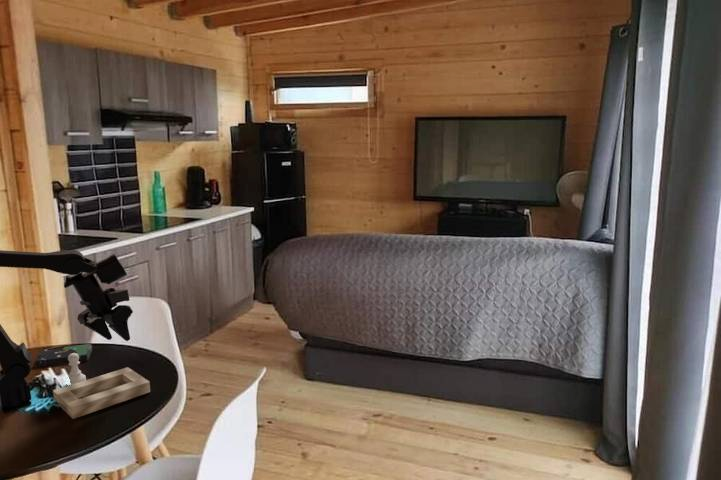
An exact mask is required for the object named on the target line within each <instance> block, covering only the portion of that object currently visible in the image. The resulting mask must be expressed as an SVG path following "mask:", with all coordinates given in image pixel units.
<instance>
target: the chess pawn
mask: <svg viewBox="0 0 721 480" xmlns="http://www.w3.org/2000/svg"><path fill="white" fill-rule="evenodd" d="M78 360H79V355H78V354H77V353H72V354H70V355H69V356H68V361H69V362H70V363H68V366H69V367H70V366H71V368H70V369H71V370H70V372H69V374H68V377H69V379H70V383H71V385H72V384H75V383H78V382H82V381H85V380H87V377H86V375H85V374H84V373H82V370H80V369H79V366H78V365H79V364H80V363H81V362H79V361H78Z"/></svg>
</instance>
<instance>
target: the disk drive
mask: <svg viewBox="0 0 721 480" xmlns="http://www.w3.org/2000/svg"><path fill="white" fill-rule="evenodd" d="M92 351H93V344H92V343H83V344H75V345H66V346H57V347H51V348H50V347H48V348H42V349H40V352H39V353H38V354H37V357H36V358H35V359H34V366H35V368H43V367H51V366H57V365H65V364H66V365H67V364H69V363H70V362H69V361H68V356H69V355H70V354H72V353H77V354H78V355H79V360H78V361H79V362H80V363H83V362H88V361H89V359H90V356H91V355H92Z"/></svg>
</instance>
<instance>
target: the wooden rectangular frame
mask: <svg viewBox="0 0 721 480" xmlns="http://www.w3.org/2000/svg"><path fill="white" fill-rule="evenodd" d="M150 383H151V382H150V380H148V379H146V378H145V377H143V376H142V375H141V374H139V373H137V372H136V371H134V370H133V369H131V368H130V367H128V366H127V367H124V368H121V369H120V368H119V369H118V370H115V371H111V372H108V373H105V374H104V373H103V374H102V375H99V376H95V377H92V378H88V379H86V380H85V381H82V382H78V383H75V384H72V385H69V386H67V385H65V386H63V387H59V388H56V389H53V390H52V394H53V395H52V396H53V401H54V400H55V401H56V402H57V403H58V404H59V405H60V406H59V405H58V404H57V403H56V402H55V401H54V402H55V403H56V404H57V405H58V406H59V407H60V408H61V409H62V410H63V411H64V412H65V413H66V414H67V416H69V417H70V418H71V419H72V420H74V419H76V418H79V417H83V416H85V415H88V414H91V413H95V412H97V411H100V410H103V409H106V408H109V407H111V406H114V405H117V404H120V403H122V402H126V401H128V400H129V401H130V400H131V399H134V398H137V397H139V396H144V395H146V394H148V393H151V384H150ZM81 397H82V398H81ZM78 398H79V399H78Z"/></svg>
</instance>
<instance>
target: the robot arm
mask: <svg viewBox="0 0 721 480" xmlns="http://www.w3.org/2000/svg"><path fill="white" fill-rule="evenodd" d="M0 268H16V269H17V268H19V269H20V268H21V269H41V270H43V269H44V270H48V271H52V272H55V273H58V274H63V275H66V276H65V281H64V282H63V287H64V288H65V289H66V288H69V287H71V286H73V288H74V289H75V291H76V293H77V294H78V297H79V298H80V301H79V304H80V306H85V308H86V309H84V310H83V311H81V312H80V313H78V315H77V318H76V319H77V320H78V322H79V323H80V325H83V326H84V327H86V328H87V329H89V330H91V331H93V332H95V333H97V334H98V335H100V336H101V337H102V338H105V340H108V341H110V340H112V339H113V336H112V334H111V331H110V329H111V330H112V331H113V332H115V333H116V334H117V335H118V336H119V337H121V339H123V340H124V341H126V342H128V341H129V340H131V335H130V330H129V324H128V322H129V321H128V320H129V318H130V317H131V316H132V314H133V313H134V311H133V309H132V307H131V306H130V305H126V304H124V305H122V304H121V305H120V304H119V305H118V303H122V302H129V301H130V295H129V290H128V289H117V290H116V289H115V287H108V288H105V289H103V288H102V286H101V284H107V285H110V284H112V283H115V282H117V281H119V280H120V279H122V278H125V277H126V276H128V273H127V271H126V270H125V268H124V266H123V265H122V263H121V261H119V259H118V257H117V255H116V254H115V253H113V254H111V255H109V256H107V257H106V258H103V259H102V260H100V261H97V262H96V261H94V260H92V259H89V258H87V257H84V255H83V253H81V251H80V250H77V249H65V250H64V249H63V250H56V251H51V252H50V251H49V252H39V251H38V252H37V251H36V252H34V251H33V252H32V251H17V250H0ZM95 275H96V276H97V278H98V279H99V281H100V283H101V284H100V283H99V281H98V279H97V278H96V276H95ZM109 328H110V329H109ZM32 356H33V353H32V352H30V351H29V350H28V349H27V347H26V344H25V342H21V343H20V344H17V343H16V342H14V341H13V340H12V339H11V337H10V336H9V335H8V333H7V332H6V330H5V329H4V328H3V326H2V325H1V324H0V367H1V369H0V411H1V412H2V413H3V414H6V413H10V412H12V411H16V410H19V409H22V408H24V407H28V406H31V405H32V403H33V402H32V401H31V400H32V395H31V394H32V392H31V386H30V384H29V383H28V382H27V381H28V380H27V379H26V378H27V377H28V376H29V375H30V372H31V371H32V370H31V369H32Z"/></svg>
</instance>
